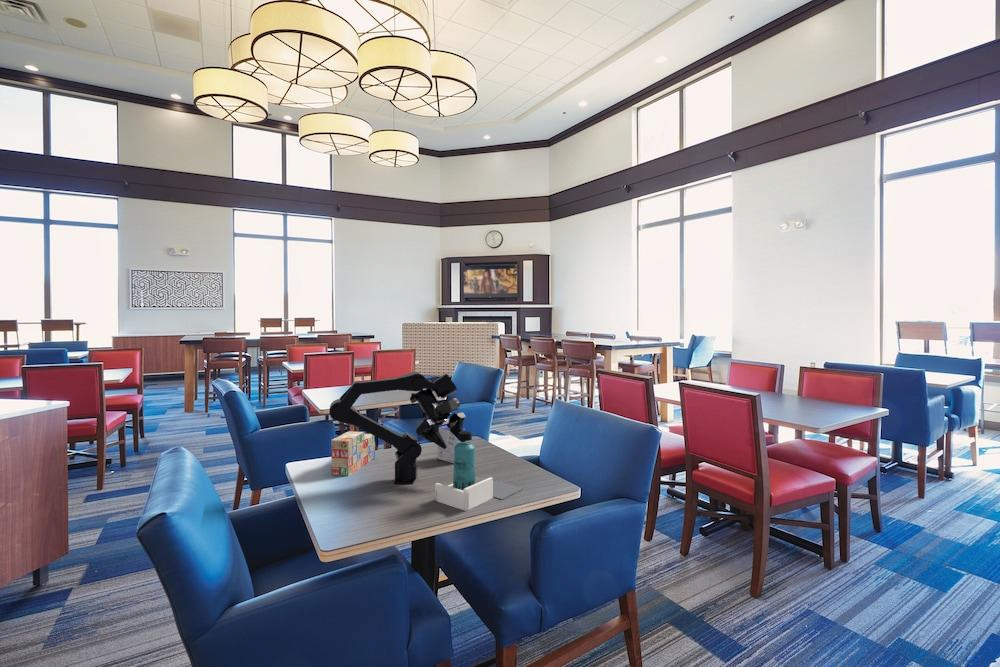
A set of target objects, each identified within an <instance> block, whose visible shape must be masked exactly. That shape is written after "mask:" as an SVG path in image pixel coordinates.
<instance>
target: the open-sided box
mask: <svg viewBox="0 0 1000 667" xmlns="http://www.w3.org/2000/svg"><path fill="white" fill-rule="evenodd" d="M493 480H494V477H492V476H491V477H488V478H487V479H485V480H483V481H481V482H478V483H476V484H474V485H471V486H469V487H467V488H464V491H463V490H460V489H456V488H453V483H451V484H449V485H448V484H447V485H446V484H443V483H439V482H436V483H434V487H435V488H434V501H436V502H438V503H440V504H444V505H447V506H450V507H453V508H456V509H459V510H462V511H464V512H468V511H469V510H471V509H474V508H475V507H477V506H479V505H483V503H486V502H487V501H490V500H492V499H494V497H493Z"/></svg>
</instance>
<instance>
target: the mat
mask: <svg viewBox="0 0 1000 667" xmlns="http://www.w3.org/2000/svg"><path fill="white" fill-rule="evenodd" d="M485 479H488V478H487V477H482V476H475V484H476V483H478V482H481V481H483V480H485ZM523 490H524V488H523V487H519V486H517V485H513V484H509V483H505V482H501V481H497V480H494V479H493V499H498V500H501V501H503V500H505V499H507V498H510V497H511V496H512V495H515V494H516V493H518V492H519V493H520V491H523Z"/></svg>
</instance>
